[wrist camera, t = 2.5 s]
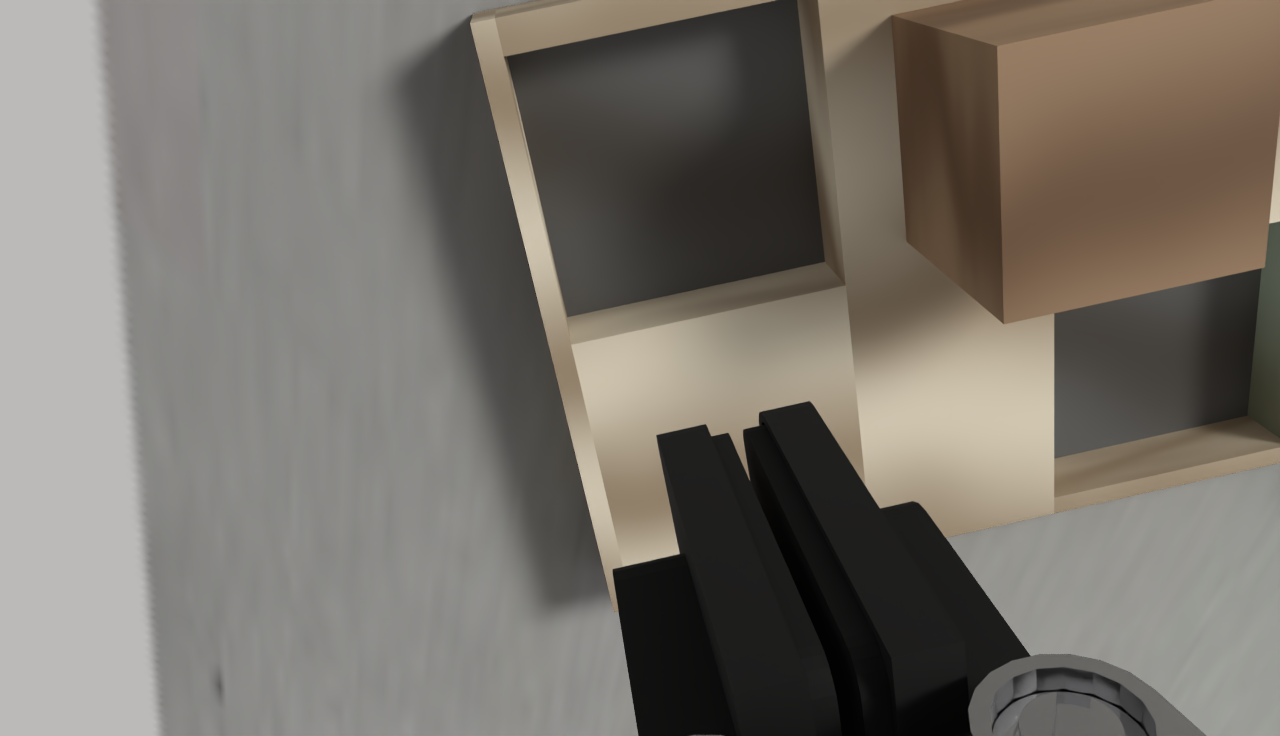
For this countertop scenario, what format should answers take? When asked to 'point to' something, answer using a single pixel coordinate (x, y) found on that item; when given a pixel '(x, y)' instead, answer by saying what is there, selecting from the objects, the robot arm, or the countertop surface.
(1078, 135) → the walnut block
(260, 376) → the countertop surface
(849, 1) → the trap board
